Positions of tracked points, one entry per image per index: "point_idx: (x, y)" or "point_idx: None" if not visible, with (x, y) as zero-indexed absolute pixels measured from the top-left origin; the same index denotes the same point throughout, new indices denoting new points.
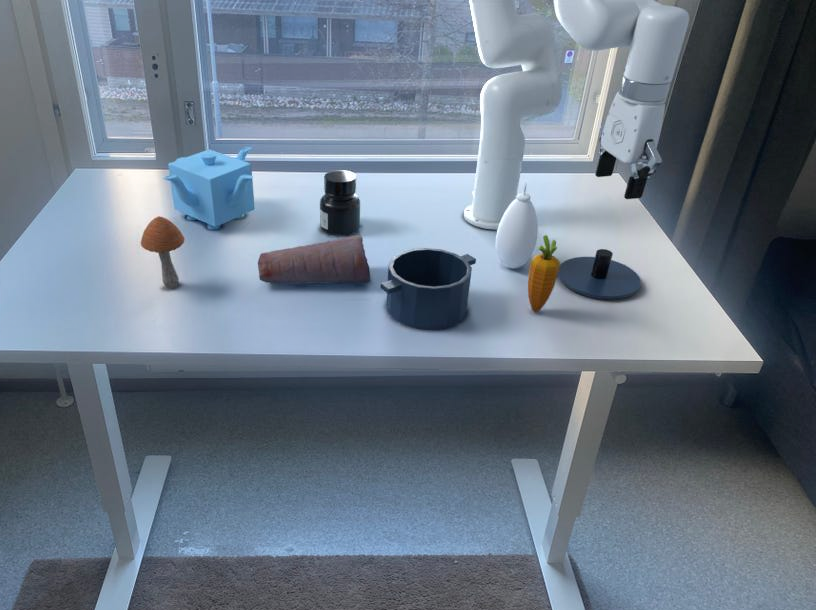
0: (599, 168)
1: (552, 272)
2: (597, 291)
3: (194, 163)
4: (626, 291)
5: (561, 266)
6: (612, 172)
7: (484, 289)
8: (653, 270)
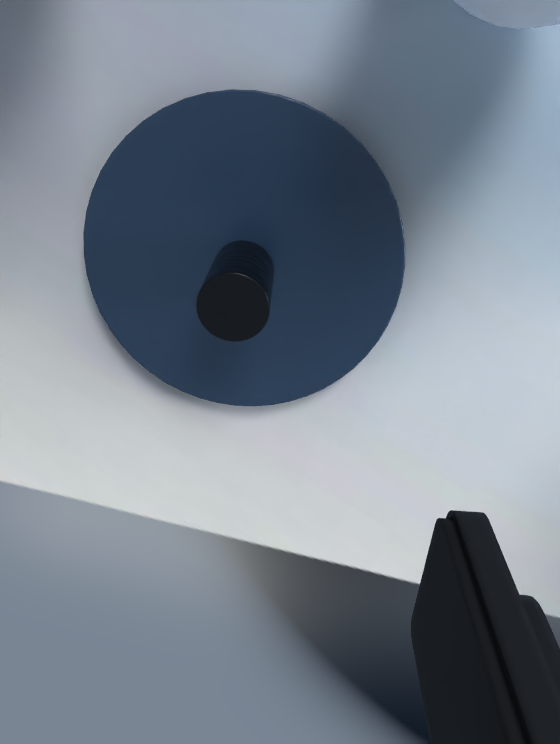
0: (471, 594)
1: None
2: (127, 192)
3: None
4: (111, 301)
5: (358, 158)
6: (417, 656)
7: None
8: (261, 470)
